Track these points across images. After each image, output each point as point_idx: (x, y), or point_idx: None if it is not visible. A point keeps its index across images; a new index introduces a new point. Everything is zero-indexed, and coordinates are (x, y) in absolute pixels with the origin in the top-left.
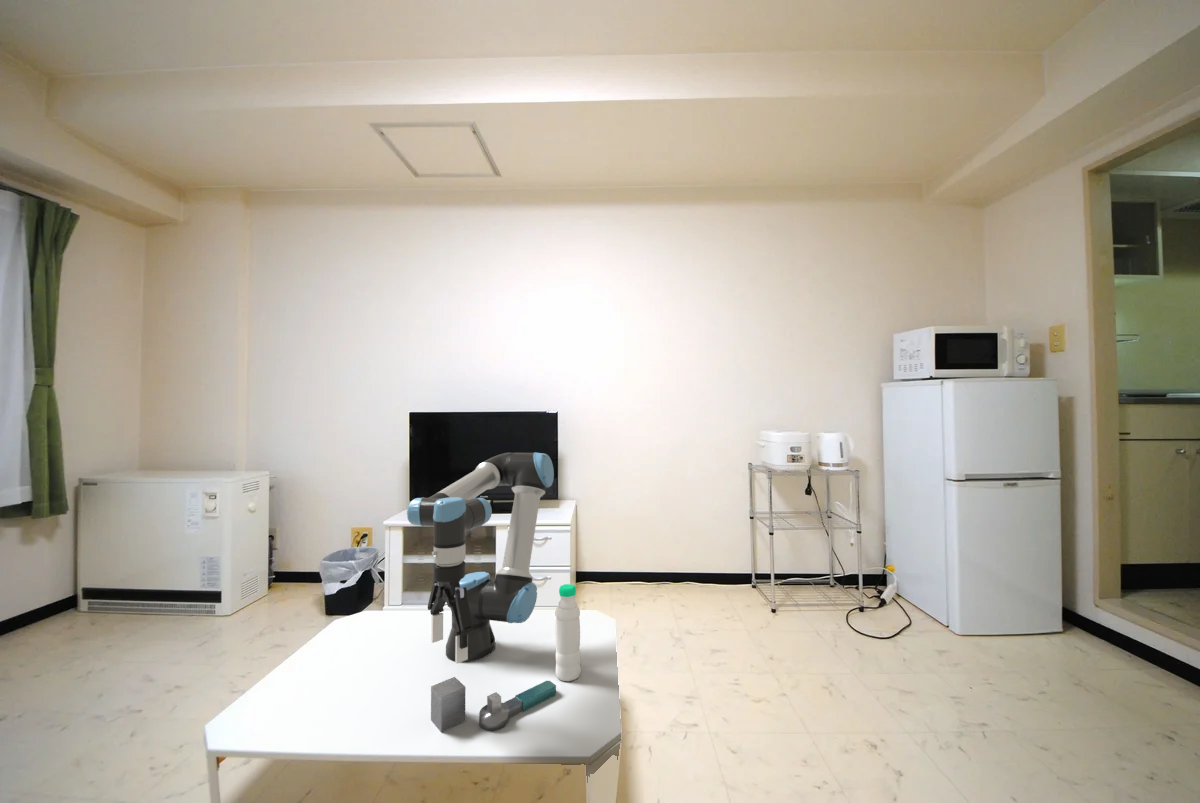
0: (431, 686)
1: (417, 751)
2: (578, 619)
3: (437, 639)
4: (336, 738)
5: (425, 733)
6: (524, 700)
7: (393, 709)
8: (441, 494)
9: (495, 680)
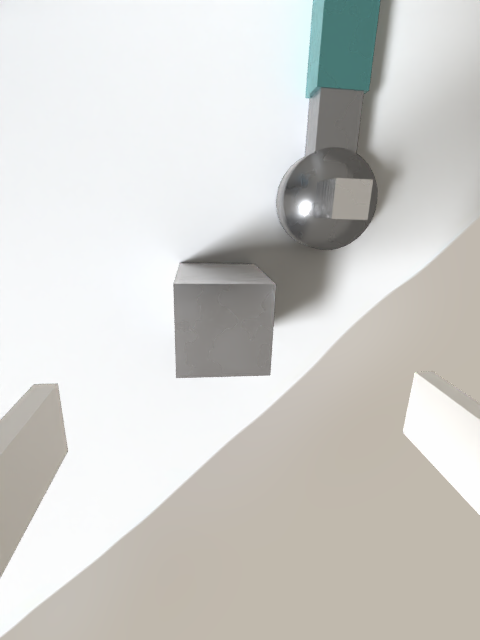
0: (177, 377)
1: (272, 396)
2: None
3: (57, 428)
4: (95, 510)
5: None
6: (365, 78)
7: None
8: None
9: (107, 45)
